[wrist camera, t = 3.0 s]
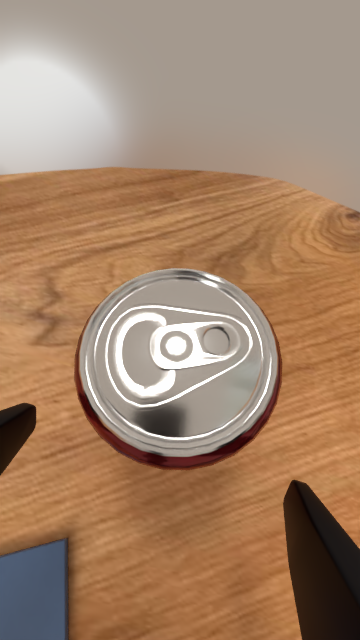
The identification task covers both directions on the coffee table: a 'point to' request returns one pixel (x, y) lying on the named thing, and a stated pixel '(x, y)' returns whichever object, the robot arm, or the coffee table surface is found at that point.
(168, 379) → the soda can
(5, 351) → the coffee table surface
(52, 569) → the slate-blue mat
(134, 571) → the coffee table surface
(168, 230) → the coffee table surface
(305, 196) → the coffee table surface
